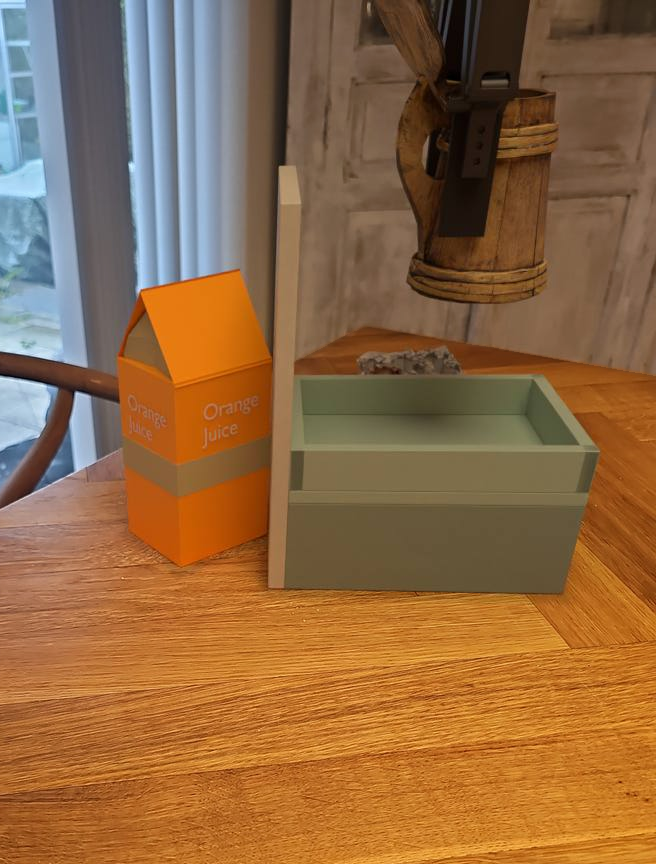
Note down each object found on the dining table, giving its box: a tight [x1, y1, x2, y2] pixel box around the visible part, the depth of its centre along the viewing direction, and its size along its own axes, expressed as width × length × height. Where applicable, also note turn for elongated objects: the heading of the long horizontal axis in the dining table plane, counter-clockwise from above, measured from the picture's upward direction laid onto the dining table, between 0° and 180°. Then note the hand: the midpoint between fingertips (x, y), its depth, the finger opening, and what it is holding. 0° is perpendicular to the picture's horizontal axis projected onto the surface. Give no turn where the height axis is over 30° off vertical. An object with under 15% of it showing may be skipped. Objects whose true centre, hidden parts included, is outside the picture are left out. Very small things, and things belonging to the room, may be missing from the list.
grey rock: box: [356, 345, 466, 375], centre depth 97 cm, size 11×8×4 cm
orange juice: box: [116, 268, 273, 568], centre depth 67 cm, size 8×9×20 cm
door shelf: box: [267, 165, 601, 595], centre depth 63 cm, size 21×15×26 cm
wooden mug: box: [373, 0, 559, 305], centre depth 54 cm, size 9×14×18 cm, turn 100°
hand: (450, 223), depth 57 cm, fingers closed on wooden mug, 7 cm apart
